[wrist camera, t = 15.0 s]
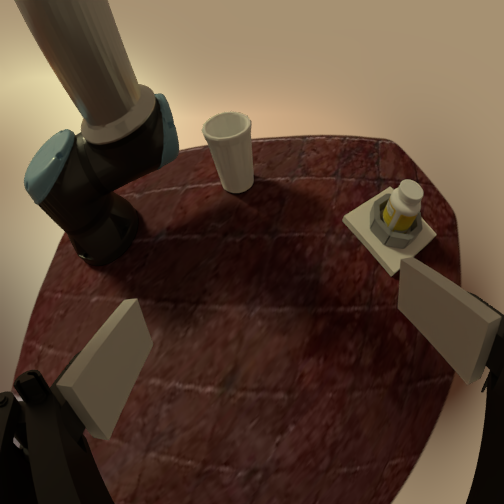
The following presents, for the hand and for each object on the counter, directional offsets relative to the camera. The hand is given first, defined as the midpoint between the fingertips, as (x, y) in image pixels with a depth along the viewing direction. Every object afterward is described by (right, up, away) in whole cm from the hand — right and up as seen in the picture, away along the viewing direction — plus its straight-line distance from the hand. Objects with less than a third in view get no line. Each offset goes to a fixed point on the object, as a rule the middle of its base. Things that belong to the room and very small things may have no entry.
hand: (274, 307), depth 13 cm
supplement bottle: (+24, +7, +31) cm, 40 cm away
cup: (-4, +16, +41) cm, 44 cm away
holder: (+24, +6, +32) cm, 41 cm away
